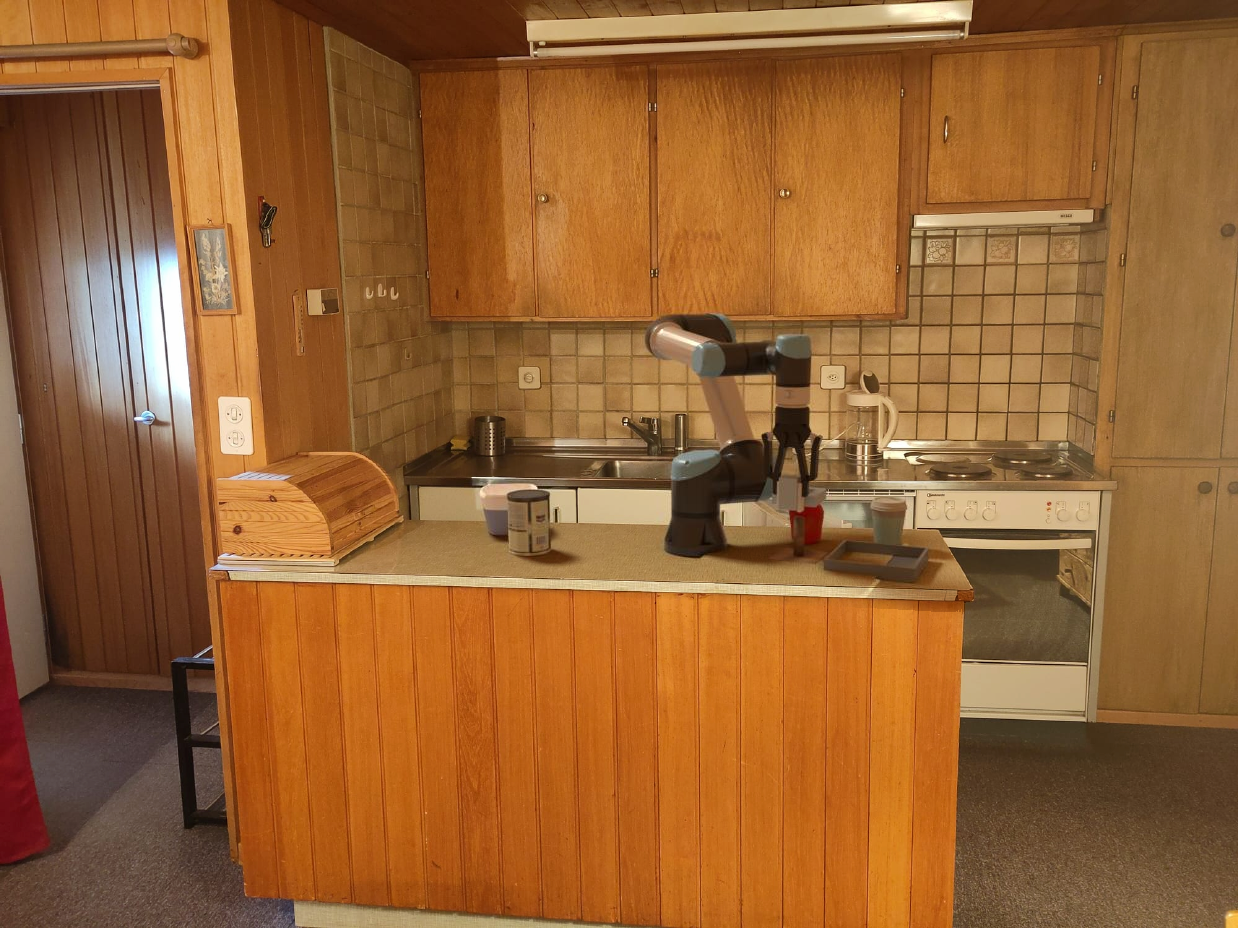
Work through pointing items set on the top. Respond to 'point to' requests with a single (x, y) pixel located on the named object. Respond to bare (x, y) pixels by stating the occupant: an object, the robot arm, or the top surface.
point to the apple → (809, 523)
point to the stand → (798, 547)
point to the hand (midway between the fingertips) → (790, 509)
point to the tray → (899, 567)
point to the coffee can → (529, 522)
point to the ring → (796, 494)
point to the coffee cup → (888, 519)
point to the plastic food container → (499, 505)
